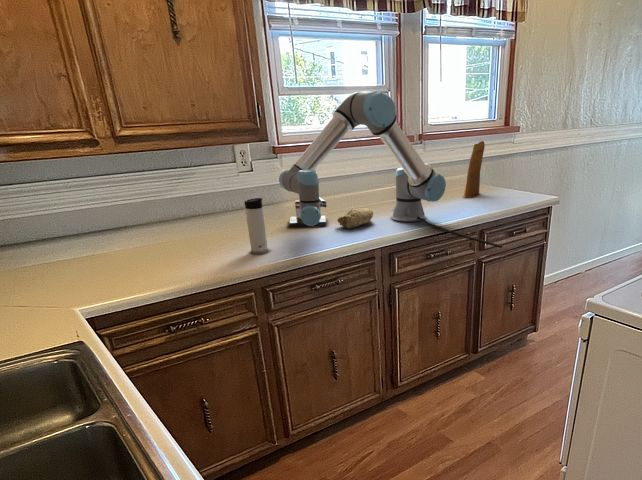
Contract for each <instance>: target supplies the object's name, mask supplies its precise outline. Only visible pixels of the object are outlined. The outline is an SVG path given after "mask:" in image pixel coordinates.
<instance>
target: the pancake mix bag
mask: <svg viewBox="0 0 642 480" xmlns="http://www.w3.org/2000/svg"><path fill="white" fill-rule="evenodd" d="M485 145H486V144H485V142H484V140H482V141H479V142H478V143H475V144H473V147H472V152H471V155H470V158H469V161H468V163H469V164H468V168H467V175H466V183H465V187H464V191H463V198H465V199H472V198H474V197H476V196H479V195H480V188H481V187H480V186H481V185H480V184H481V170H482V169H481V168H482V164H483V157H484V152H485Z"/></svg>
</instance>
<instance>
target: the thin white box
mask: <svg viewBox="0 0 642 480" xmlns="http://www.w3.org/2000/svg"><path fill="white" fill-rule="evenodd" d="M298 200H299V199H298ZM298 200H297V199H296V201H298ZM294 206H295V217H296V218H297V220H301V217H300V207H299V208H296V205H295V204H294Z"/></svg>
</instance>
